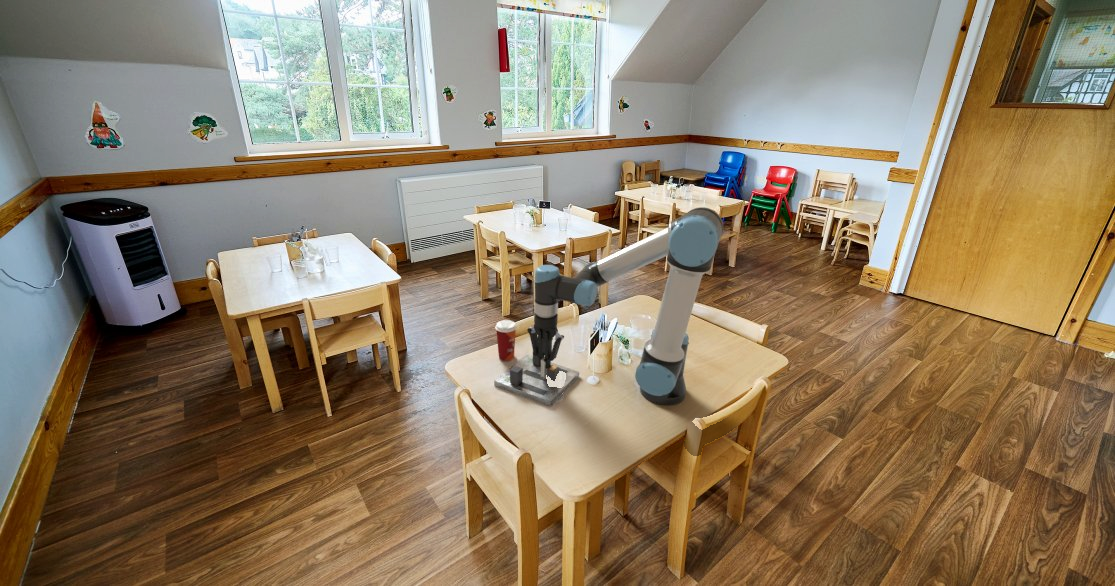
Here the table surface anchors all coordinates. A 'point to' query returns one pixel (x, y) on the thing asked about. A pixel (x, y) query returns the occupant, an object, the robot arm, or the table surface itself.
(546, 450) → the table surface
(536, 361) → the block
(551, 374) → the block
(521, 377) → the block
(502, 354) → the paper cup
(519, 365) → the panel
